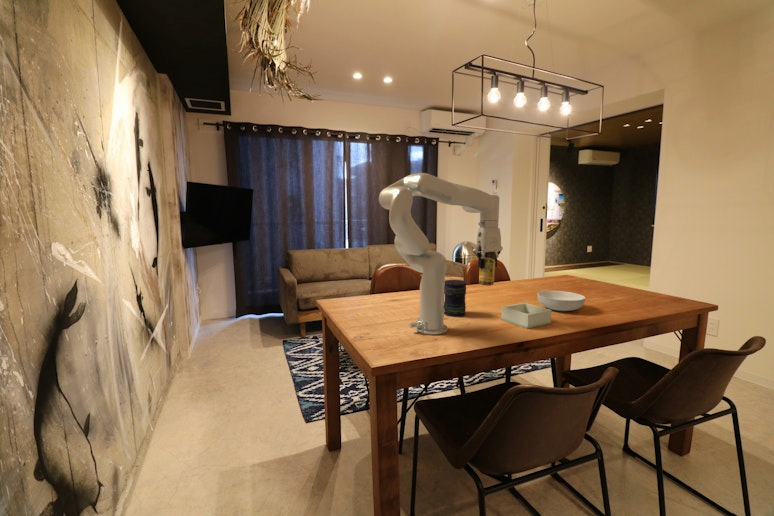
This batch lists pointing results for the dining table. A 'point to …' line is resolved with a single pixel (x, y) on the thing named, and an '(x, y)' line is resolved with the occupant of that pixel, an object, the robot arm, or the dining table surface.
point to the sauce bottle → (488, 269)
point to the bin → (526, 315)
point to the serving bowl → (560, 300)
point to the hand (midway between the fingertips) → (487, 266)
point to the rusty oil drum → (454, 298)
